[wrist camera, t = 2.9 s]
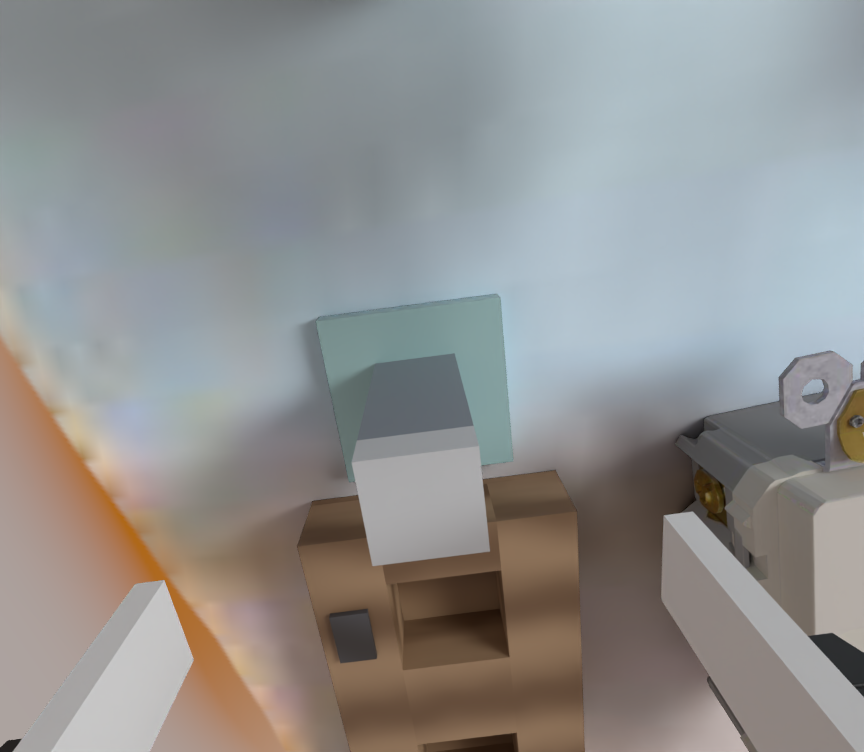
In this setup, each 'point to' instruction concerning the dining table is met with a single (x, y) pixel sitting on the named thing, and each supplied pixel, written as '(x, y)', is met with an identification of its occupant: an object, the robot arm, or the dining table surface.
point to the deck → (415, 338)
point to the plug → (419, 464)
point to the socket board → (455, 628)
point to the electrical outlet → (792, 497)
